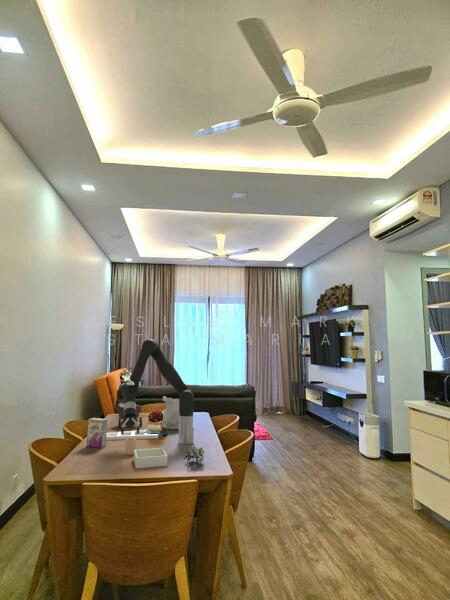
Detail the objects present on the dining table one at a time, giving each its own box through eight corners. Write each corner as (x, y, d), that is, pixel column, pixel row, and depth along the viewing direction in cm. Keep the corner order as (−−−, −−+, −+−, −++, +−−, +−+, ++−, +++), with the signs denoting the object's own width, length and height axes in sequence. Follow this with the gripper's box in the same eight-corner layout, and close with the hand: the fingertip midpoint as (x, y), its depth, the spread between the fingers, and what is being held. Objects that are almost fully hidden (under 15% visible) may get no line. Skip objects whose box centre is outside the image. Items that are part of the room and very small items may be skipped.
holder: (88, 441, 240) (88, 437, 240) (92, 435, 257) (92, 431, 258) (157, 439, 249) (158, 435, 249) (157, 433, 266) (157, 429, 267)
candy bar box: (86, 446, 226) (87, 419, 228) (91, 444, 230) (93, 417, 232) (101, 448, 222) (102, 420, 224) (106, 446, 227) (107, 419, 229)
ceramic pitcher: (175, 425, 297) (174, 393, 301) (193, 426, 286) (192, 393, 290) (155, 430, 279) (155, 396, 284) (174, 431, 268) (173, 396, 273)
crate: (162, 457, 206) (163, 447, 207) (167, 465, 191) (167, 455, 192) (133, 459, 201) (133, 449, 202) (135, 468, 186) (136, 458, 187)
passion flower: (200, 475, 193) (203, 460, 187) (180, 471, 193) (182, 455, 187) (204, 458, 203) (207, 443, 197) (185, 453, 203) (187, 438, 197)
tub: (134, 451, 215) (134, 437, 216) (134, 454, 211) (135, 439, 212) (125, 452, 214) (126, 438, 215) (126, 454, 209) (126, 440, 210)
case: (138, 428, 279) (139, 403, 281) (112, 427, 279) (113, 403, 282) (144, 423, 296) (145, 401, 299) (119, 423, 297) (120, 400, 299)
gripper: (118, 407, 227) (118, 430, 214) (142, 406, 231) (143, 429, 218) (117, 414, 231) (117, 437, 218) (141, 413, 235) (141, 436, 223)
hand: (130, 433), depth 219 cm, fingers open, 8 cm apart
